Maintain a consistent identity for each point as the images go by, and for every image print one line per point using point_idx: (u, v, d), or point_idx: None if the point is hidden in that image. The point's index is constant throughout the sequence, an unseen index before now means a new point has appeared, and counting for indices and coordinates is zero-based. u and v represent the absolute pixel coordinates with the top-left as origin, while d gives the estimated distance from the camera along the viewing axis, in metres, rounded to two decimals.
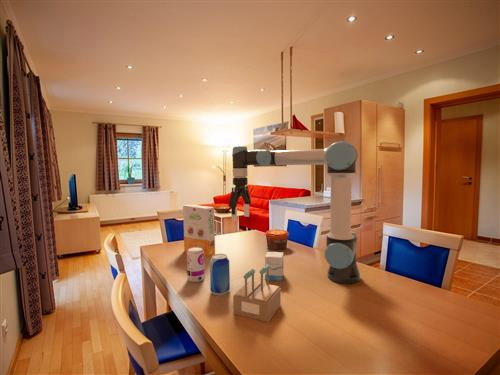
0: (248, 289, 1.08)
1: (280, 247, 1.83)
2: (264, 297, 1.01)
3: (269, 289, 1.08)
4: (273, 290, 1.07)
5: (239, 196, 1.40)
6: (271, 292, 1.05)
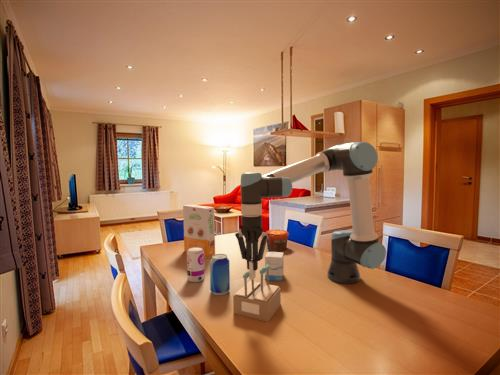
0: (248, 289, 1.08)
1: (280, 247, 1.83)
2: (264, 297, 1.01)
3: (269, 289, 1.08)
4: (273, 290, 1.07)
5: (247, 243, 1.02)
6: (271, 292, 1.05)
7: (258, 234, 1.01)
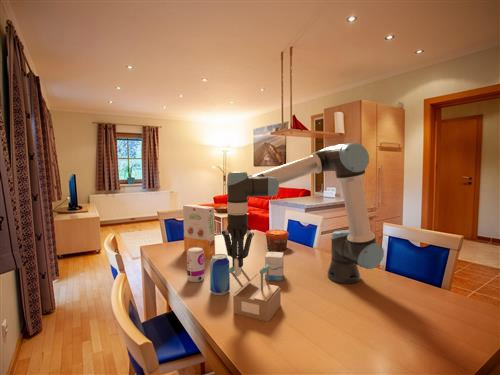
0: None
1: (280, 247, 1.83)
2: (264, 297, 1.01)
3: (269, 289, 1.08)
4: (273, 290, 1.07)
5: (233, 240, 1.05)
6: (271, 292, 1.05)
7: (243, 232, 1.03)
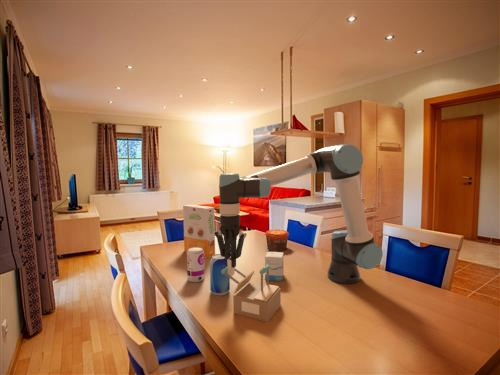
0: None
1: (280, 247, 1.83)
2: (264, 297, 1.01)
3: (269, 289, 1.08)
4: (273, 290, 1.07)
5: (226, 241, 1.06)
6: (271, 292, 1.05)
7: (236, 233, 1.05)
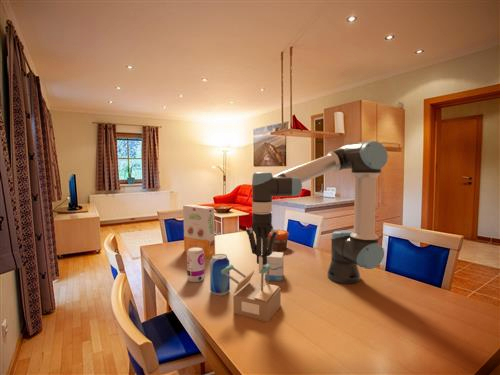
0: None
1: (280, 247, 1.83)
2: (264, 297, 1.01)
3: (269, 289, 1.08)
4: (273, 290, 1.07)
5: (258, 239, 1.08)
6: (271, 292, 1.05)
7: (268, 230, 1.06)
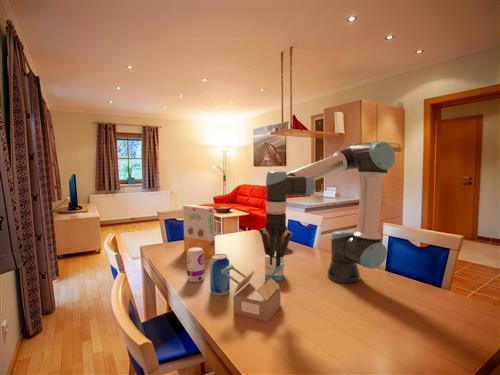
0: None
1: None
2: (265, 294, 1.01)
3: (271, 285, 1.07)
4: (274, 289, 1.07)
5: (271, 239, 1.06)
6: (272, 291, 1.05)
7: (282, 231, 1.04)
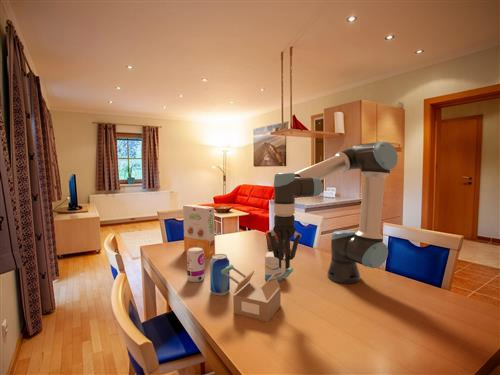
0: None
1: None
2: (267, 293, 1.01)
3: (273, 284, 1.07)
4: (275, 288, 1.07)
5: (280, 242, 1.04)
6: (273, 290, 1.05)
7: (291, 233, 1.03)
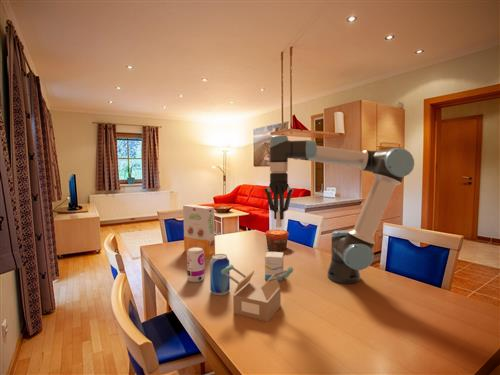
0: None
1: (280, 247, 1.83)
2: (267, 293, 1.01)
3: (273, 284, 1.07)
4: (275, 288, 1.07)
5: (275, 196, 1.21)
6: (273, 290, 1.05)
7: (284, 188, 1.19)
